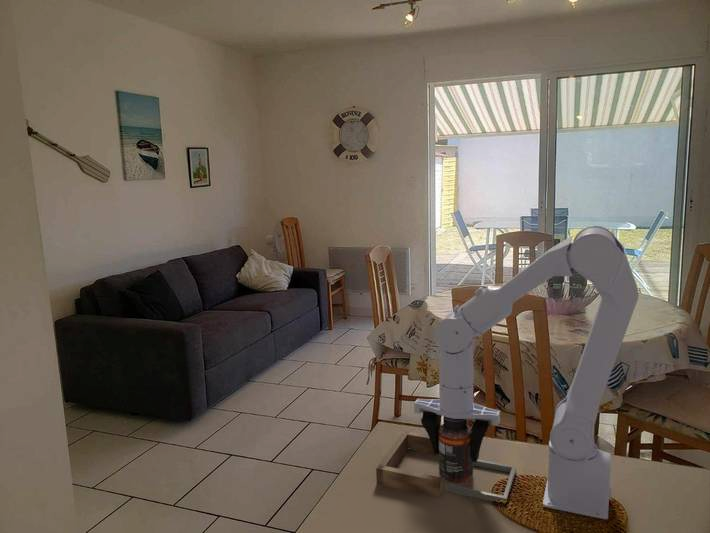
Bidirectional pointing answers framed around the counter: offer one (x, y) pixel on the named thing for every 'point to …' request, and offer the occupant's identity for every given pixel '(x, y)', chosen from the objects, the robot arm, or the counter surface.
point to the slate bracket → (484, 494)
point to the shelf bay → (405, 478)
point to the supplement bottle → (455, 450)
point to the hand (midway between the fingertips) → (456, 455)
